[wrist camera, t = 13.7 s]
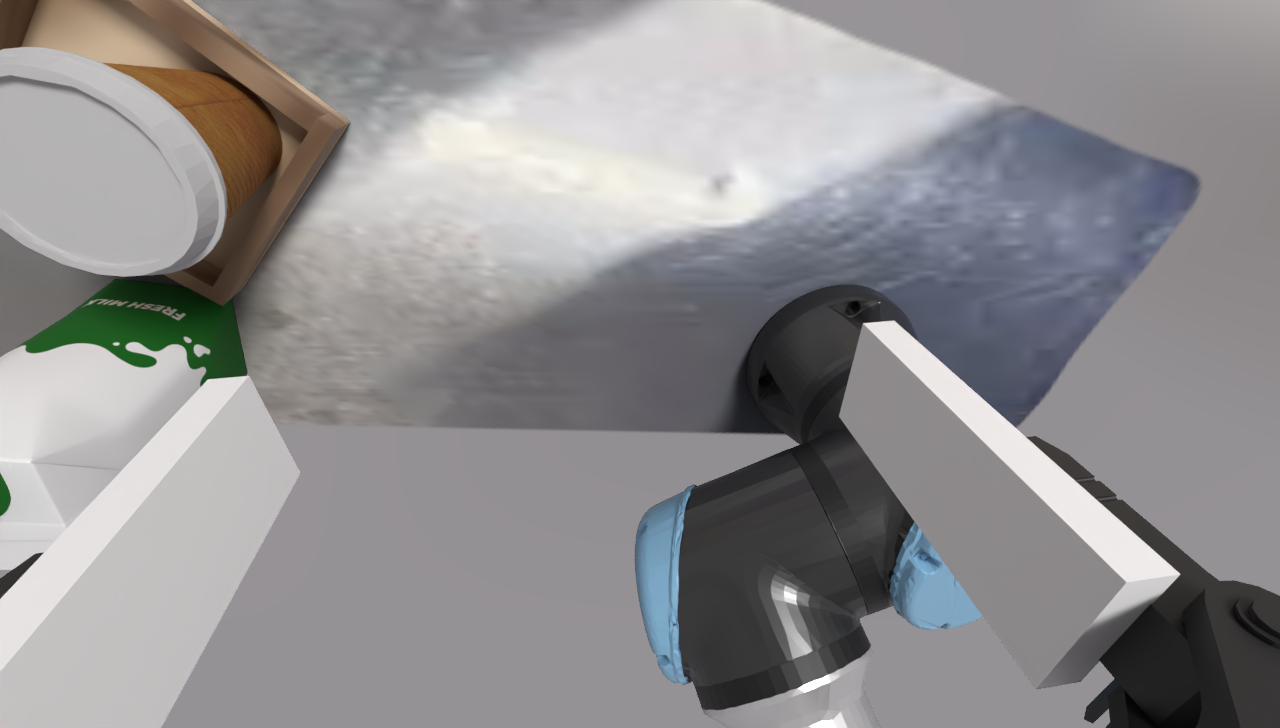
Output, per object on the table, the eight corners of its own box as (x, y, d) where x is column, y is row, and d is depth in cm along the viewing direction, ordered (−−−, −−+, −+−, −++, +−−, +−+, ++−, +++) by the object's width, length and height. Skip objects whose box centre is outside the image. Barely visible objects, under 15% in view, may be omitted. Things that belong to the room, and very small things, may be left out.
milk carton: (242, 282, 38) (2, 489, 21) (262, 383, 42) (78, 618, 26) (95, 263, 35) (-300, 478, 19) (133, 372, 40) (-157, 620, 24)
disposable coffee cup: (194, 220, 34) (48, 303, 24) (86, 53, 29) (-158, 73, 19) (339, 193, 34) (255, 265, 25) (259, 23, 29) (110, 27, 19)
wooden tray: (350, 122, 33) (334, 130, 31) (244, 287, 38) (222, 306, 35) (57, -102, 26) (5, -114, 23) (-28, 136, 31) (-79, 146, 28)
